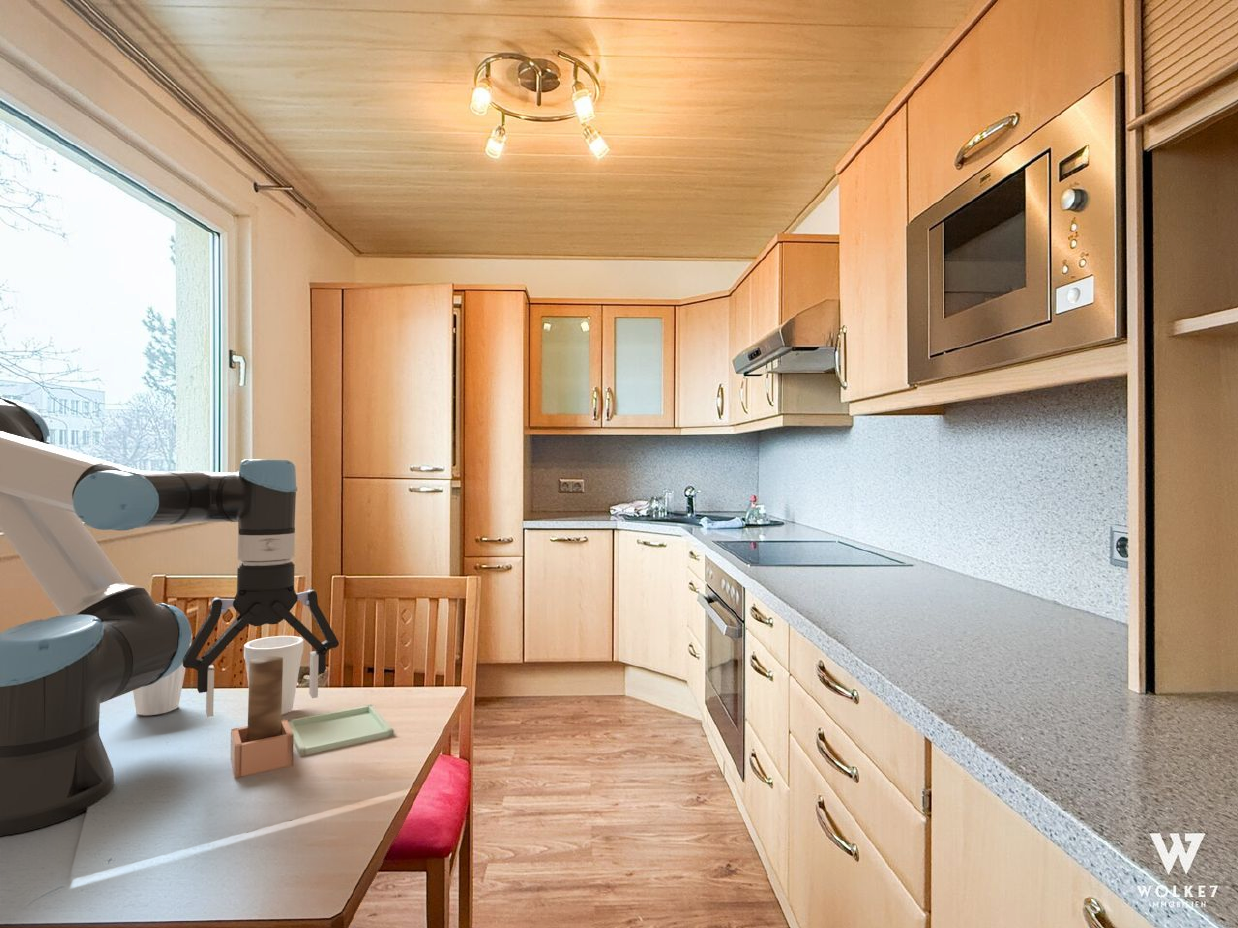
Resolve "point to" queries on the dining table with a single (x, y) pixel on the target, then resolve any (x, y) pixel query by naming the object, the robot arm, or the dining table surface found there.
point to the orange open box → (261, 751)
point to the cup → (160, 694)
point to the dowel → (265, 697)
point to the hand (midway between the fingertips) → (263, 704)
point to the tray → (338, 729)
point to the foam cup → (291, 654)
